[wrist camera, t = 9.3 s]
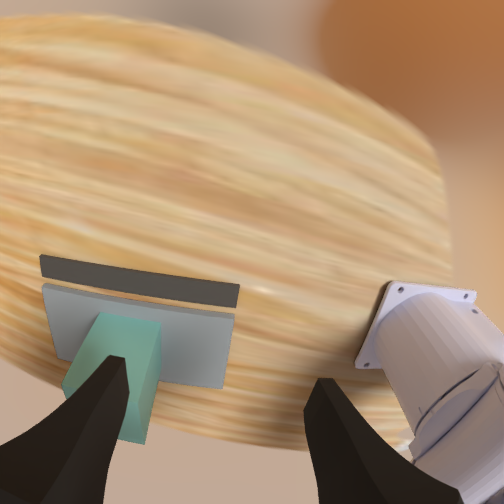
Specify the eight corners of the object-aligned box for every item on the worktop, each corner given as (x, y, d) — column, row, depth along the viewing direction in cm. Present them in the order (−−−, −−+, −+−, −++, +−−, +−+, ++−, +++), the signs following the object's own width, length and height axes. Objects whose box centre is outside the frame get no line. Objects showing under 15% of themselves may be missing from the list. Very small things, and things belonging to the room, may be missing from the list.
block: (160, 322, 20) (137, 403, 14) (161, 368, 22) (144, 444, 15) (100, 312, 20) (61, 384, 13) (106, 357, 21) (78, 428, 15)
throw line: (239, 284, 20) (239, 286, 20) (235, 305, 20) (235, 307, 20) (41, 254, 18) (39, 256, 18) (44, 274, 19) (42, 276, 19)
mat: (234, 314, 21) (234, 319, 20) (222, 383, 23) (222, 389, 23) (45, 282, 19) (41, 286, 19) (60, 353, 22) (57, 358, 21)
